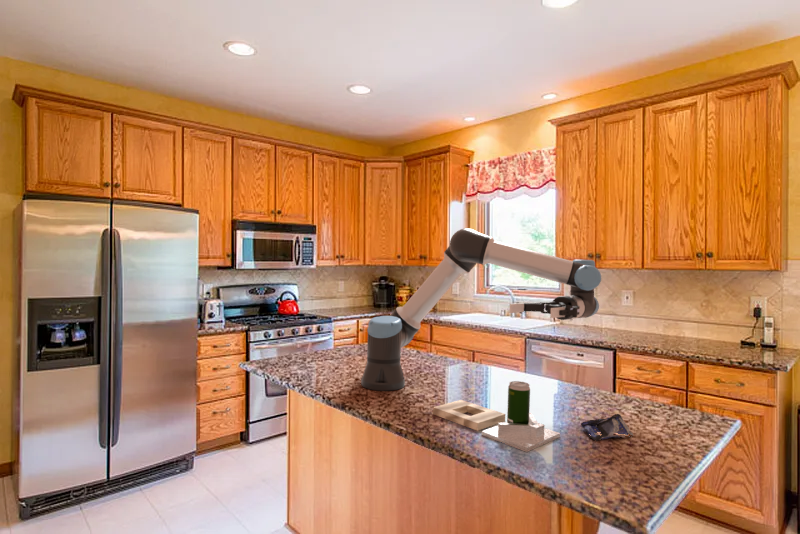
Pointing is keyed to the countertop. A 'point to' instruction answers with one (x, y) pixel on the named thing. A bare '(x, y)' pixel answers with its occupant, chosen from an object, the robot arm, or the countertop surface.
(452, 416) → the beige rectangular frame
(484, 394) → the countertop surface
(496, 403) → the countertop surface
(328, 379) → the countertop surface
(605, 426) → the snack package
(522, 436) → the v block
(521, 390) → the green soda can
